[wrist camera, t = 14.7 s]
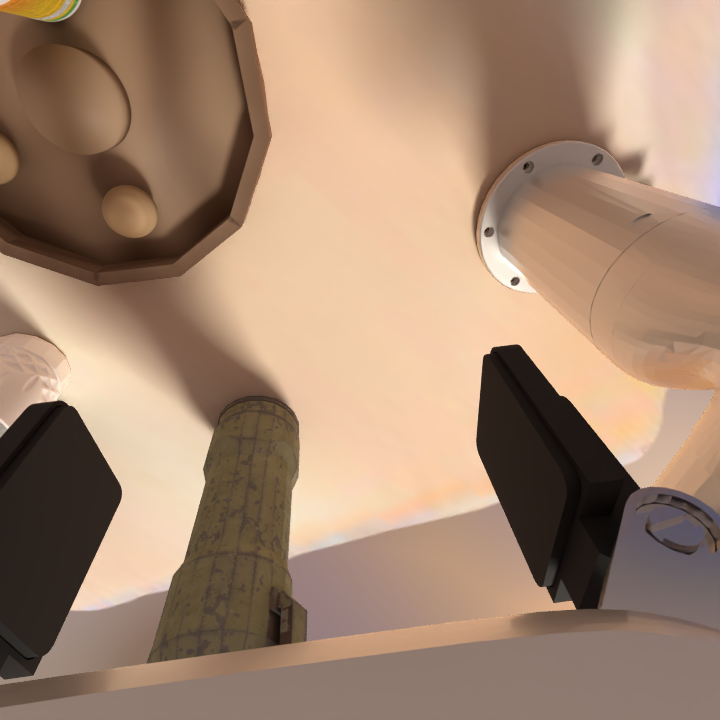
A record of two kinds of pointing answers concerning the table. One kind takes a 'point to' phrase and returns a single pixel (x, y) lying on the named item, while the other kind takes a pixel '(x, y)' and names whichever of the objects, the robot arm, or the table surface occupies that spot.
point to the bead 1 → (8, 160)
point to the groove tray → (130, 133)
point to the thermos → (239, 542)
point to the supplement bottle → (41, 8)
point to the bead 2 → (129, 211)
